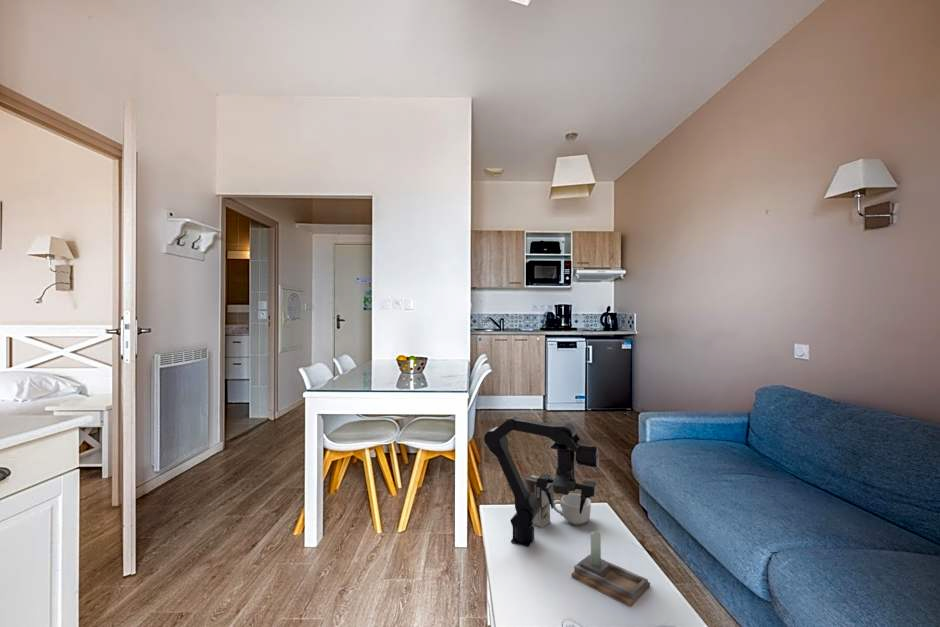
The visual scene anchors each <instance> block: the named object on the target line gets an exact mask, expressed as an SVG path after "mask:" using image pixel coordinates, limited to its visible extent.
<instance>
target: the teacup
mask: <svg viewBox="0 0 940 627" xmlns="http://www.w3.org/2000/svg"><path fill="white" fill-rule="evenodd" d="M580 496H581V494H580V493H569V494H568V495H563V496H562V497H561V500H559V499H555V500H554V507H553V510H554V511H555V512H556V513H557V514H560V516H561V517H563V519H565V520H566V522H568V523H569V524H573V525H575V526H576V525H577V526H580V525H584V524H585V523H586V522H588V521H589V520H590V517H591V508H592V507H591V505H592V501H591V500H590V499H591V498H587V499H586V501H585V504H584V507H583V510H582V513H581V514H580V500H581V498H580ZM557 504H560V508H561V510H560V509H559V508H557V506H556V505H557Z"/></svg>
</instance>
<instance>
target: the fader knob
mask: <svg viewBox="0 0 940 627" xmlns="http://www.w3.org/2000/svg"><path fill="white" fill-rule="evenodd" d="M601 538H602V536H601V532H599V531H598V530H592V531H591V532H590V554H591V557H590V558H588V559H587V560H586V561H584V562H583V563H582V564H581V567H582V568H584V569H586V570H588V571H590V572H593V573H595V574H597V575H599V576H601V577H603V576H605V575H606V574H607V573H608V572H609V571H610V563H611V562H610V563H608V562H609V561H607V562H605V561H606V560H605V561H603V560H604V559H603V560H601V559H602V554H601V553H602V549H601V548H602V547H601V546H602V545H601V542H602V541H601V540H602V539H601Z"/></svg>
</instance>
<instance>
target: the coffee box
mask: <svg viewBox="0 0 940 627" xmlns="http://www.w3.org/2000/svg"><path fill="white" fill-rule="evenodd" d="M539 476H540V475H537V474H534V473H530V472H529V473H527V474H525V475H524V476H522V477H521V479H522V481H523V484H524V486H525V488H526V490H527V491H528V492H529V493H530V494H531V493H533V492H534V493H535V496H536V499H537V500H538V502H539V504H538V505H539V511H538V513H537V514H536V516H535V517H534V519H533V520H532V522H533V526H536V527H539V528H544V527H545V526H546V525H548V524H549V523H551V506H550V503H549V500H548V497H547V495H546V493H545V492H544V491H543V490H541V489H540V488H538V487H536V480H537V478H538V477H539Z"/></svg>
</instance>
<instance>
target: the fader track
mask: <svg viewBox="0 0 940 627" xmlns="http://www.w3.org/2000/svg"><path fill="white" fill-rule="evenodd" d="M590 557H591V553H590V554H589V553H588V555H587V556H585V557H584V558H582V560H580V561H579V562H577V563H576V564H575V565H574V566H573V572H572V573H571V579H574V580H576V581H577V582H580V583H582V584H583V585H586V586H588V587H590V588H591V589H594V590H595V591H598V592H600V593H601V594H604V595H606V596H608V597H610V598H612V599H614V600H615V601H618V602H619V603H621V604H622V605H623V604H624V605H626V606H628V607H629V608H632V606H633V605H634V604H636V603H637V601H638V600H639V599H640V598H641V597H642V596H643V595H644V594H645V593H646V592H647V590H648V589H649V588H651V582H650V581H649V579H647V578H645V577H644V576H641V575H639V574H636V573H634V572H632V571H629V570H627V569H626V568H622V567H621V566H619V565H616V564H614V563H611V562H609V561H607V560H605V559H602V558H601V560H603V561H605V562H608V563H610V571H609V572H608V573H607V574H606V575H605V576H603V577H601V576H599V575H597V574H595V573H593V572H590V571H588V570H586V569H584V568H582V567H581V564H582V563H583V562H584V561H586V560H587V559H588V558H590Z"/></svg>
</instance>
